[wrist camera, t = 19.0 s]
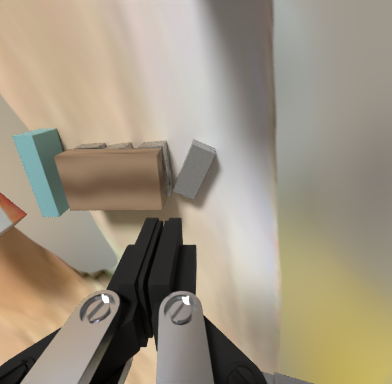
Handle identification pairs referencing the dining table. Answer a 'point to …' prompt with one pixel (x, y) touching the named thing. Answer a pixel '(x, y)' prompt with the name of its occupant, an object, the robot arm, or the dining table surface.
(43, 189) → the block
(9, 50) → the dining table surface
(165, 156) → the bar
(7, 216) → the cracker box
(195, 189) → the bar
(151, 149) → the board
